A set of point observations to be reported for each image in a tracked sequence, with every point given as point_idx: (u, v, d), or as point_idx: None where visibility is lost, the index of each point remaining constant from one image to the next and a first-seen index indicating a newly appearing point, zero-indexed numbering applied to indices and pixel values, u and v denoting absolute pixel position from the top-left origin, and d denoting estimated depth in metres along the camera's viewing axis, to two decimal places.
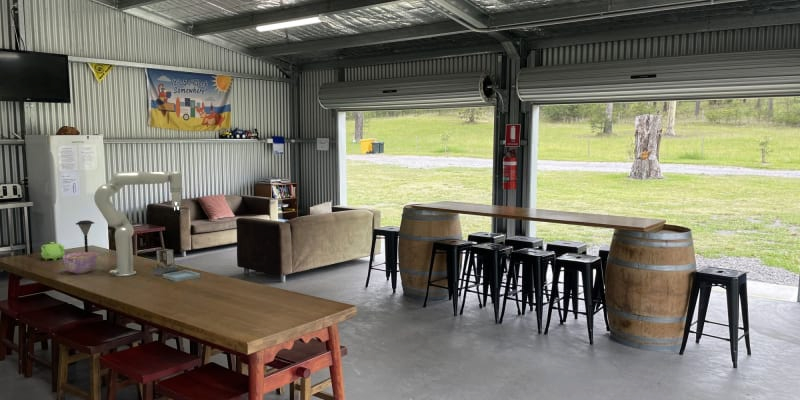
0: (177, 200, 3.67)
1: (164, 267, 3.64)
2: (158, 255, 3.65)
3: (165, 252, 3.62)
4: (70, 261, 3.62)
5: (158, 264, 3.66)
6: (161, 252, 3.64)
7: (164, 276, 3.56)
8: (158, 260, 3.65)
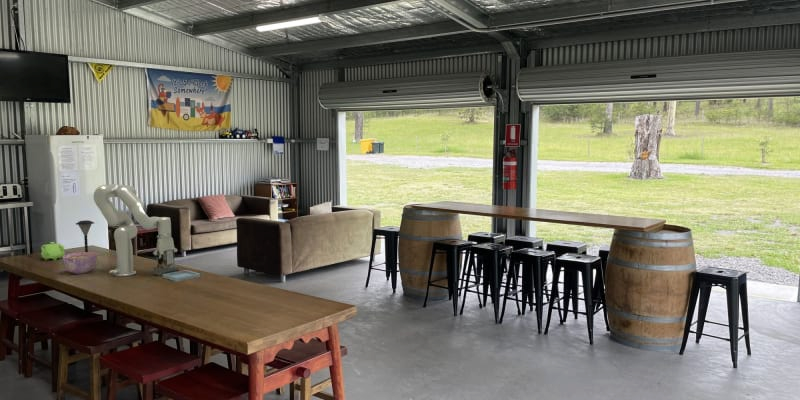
0: None
1: (164, 267, 3.64)
2: None
3: (165, 252, 3.62)
4: (70, 261, 3.62)
5: (158, 264, 3.66)
6: None
7: (164, 276, 3.56)
8: None
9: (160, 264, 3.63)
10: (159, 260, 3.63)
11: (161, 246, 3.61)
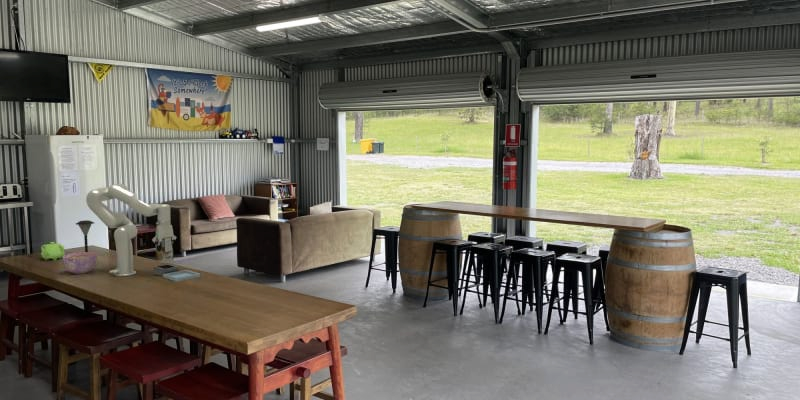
0: None
1: (162, 254, 3.63)
2: None
3: (163, 239, 3.61)
4: (70, 261, 3.62)
5: (157, 251, 3.65)
6: None
7: (164, 276, 3.56)
8: None
9: (159, 251, 3.62)
10: (158, 247, 3.62)
11: (160, 233, 3.61)
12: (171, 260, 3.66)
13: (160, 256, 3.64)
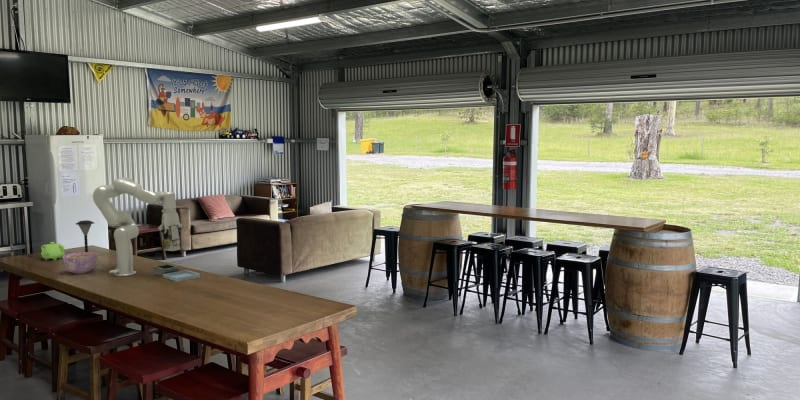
0: None
1: (169, 242, 3.58)
2: None
3: (169, 227, 3.57)
4: (70, 261, 3.62)
5: (163, 240, 3.61)
6: None
7: (164, 276, 3.56)
8: None
9: (166, 239, 3.58)
10: (164, 235, 3.58)
11: (166, 221, 3.56)
12: (178, 248, 3.62)
13: (167, 244, 3.60)
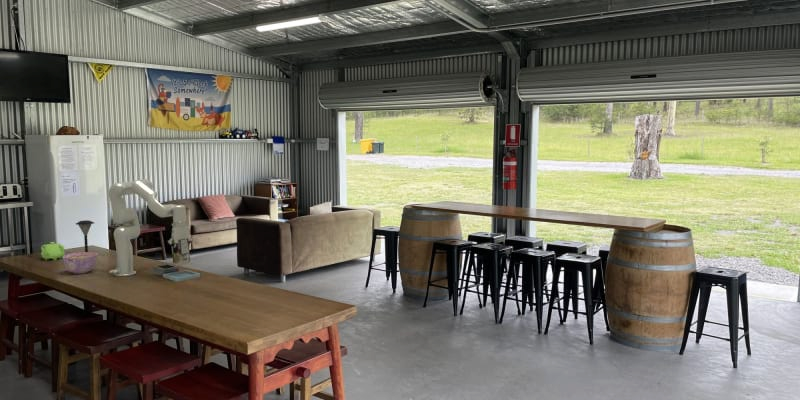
0: None
1: (179, 256, 3.53)
2: None
3: (179, 241, 3.51)
4: (70, 261, 3.62)
5: (173, 254, 3.55)
6: None
7: (164, 276, 3.56)
8: None
9: (175, 253, 3.52)
10: (174, 249, 3.52)
11: (176, 235, 3.51)
12: (188, 262, 3.56)
13: (176, 258, 3.54)
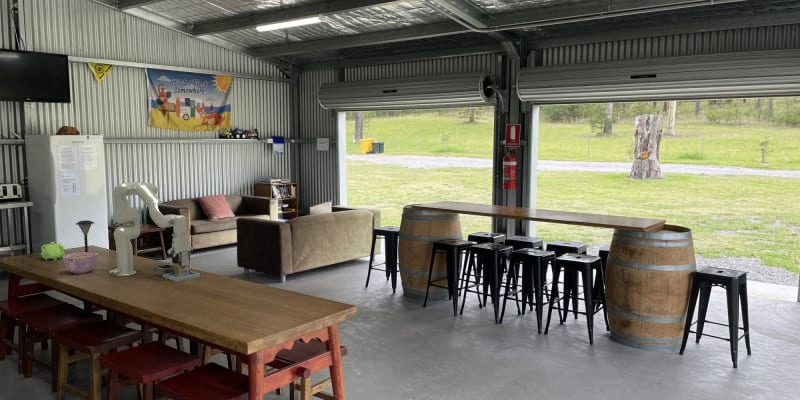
0: None
1: (179, 269, 3.54)
2: None
3: (180, 253, 3.52)
4: (70, 261, 3.62)
5: (173, 265, 3.56)
6: None
7: (164, 276, 3.56)
8: None
9: (174, 263, 3.52)
10: (173, 259, 3.52)
11: (176, 245, 3.51)
12: (187, 274, 3.57)
13: (176, 270, 3.55)
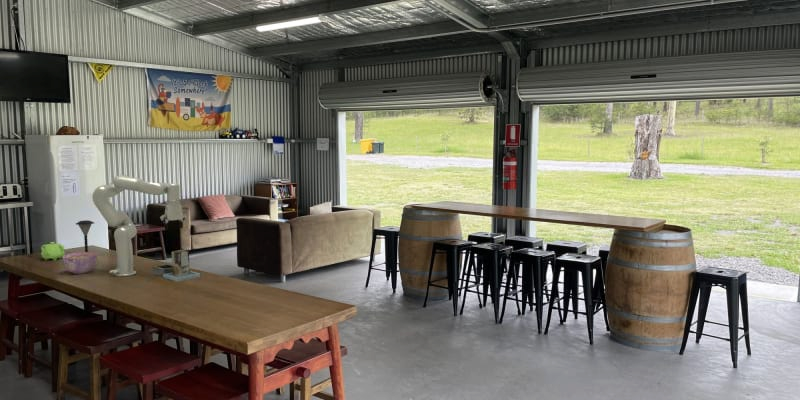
0: None
1: (179, 269, 3.54)
2: (173, 256, 3.55)
3: (179, 253, 3.52)
4: (70, 261, 3.62)
5: (173, 266, 3.56)
6: (176, 253, 3.54)
7: (164, 276, 3.56)
8: (173, 261, 3.56)
9: (166, 229, 3.62)
10: (165, 225, 3.62)
11: (169, 212, 3.61)
12: (187, 275, 3.57)
13: (176, 271, 3.55)
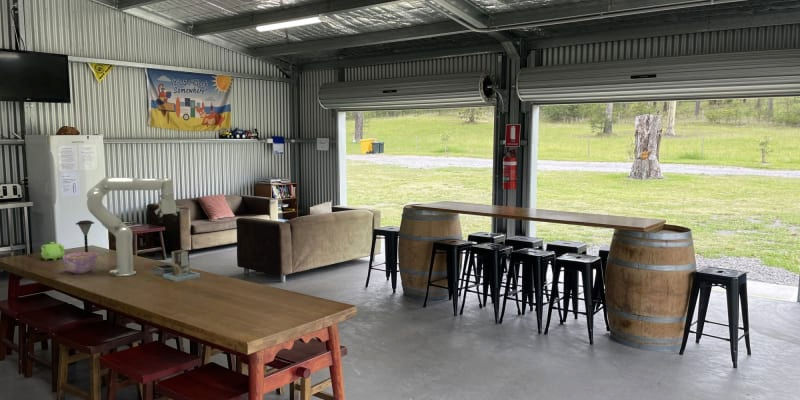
0: None
1: (179, 269, 3.54)
2: (173, 256, 3.55)
3: (179, 253, 3.52)
4: (70, 261, 3.62)
5: (173, 266, 3.56)
6: (176, 253, 3.54)
7: (164, 276, 3.56)
8: (173, 261, 3.56)
9: None
10: (160, 219, 3.74)
11: (163, 206, 3.74)
12: (187, 275, 3.57)
13: (176, 271, 3.55)
